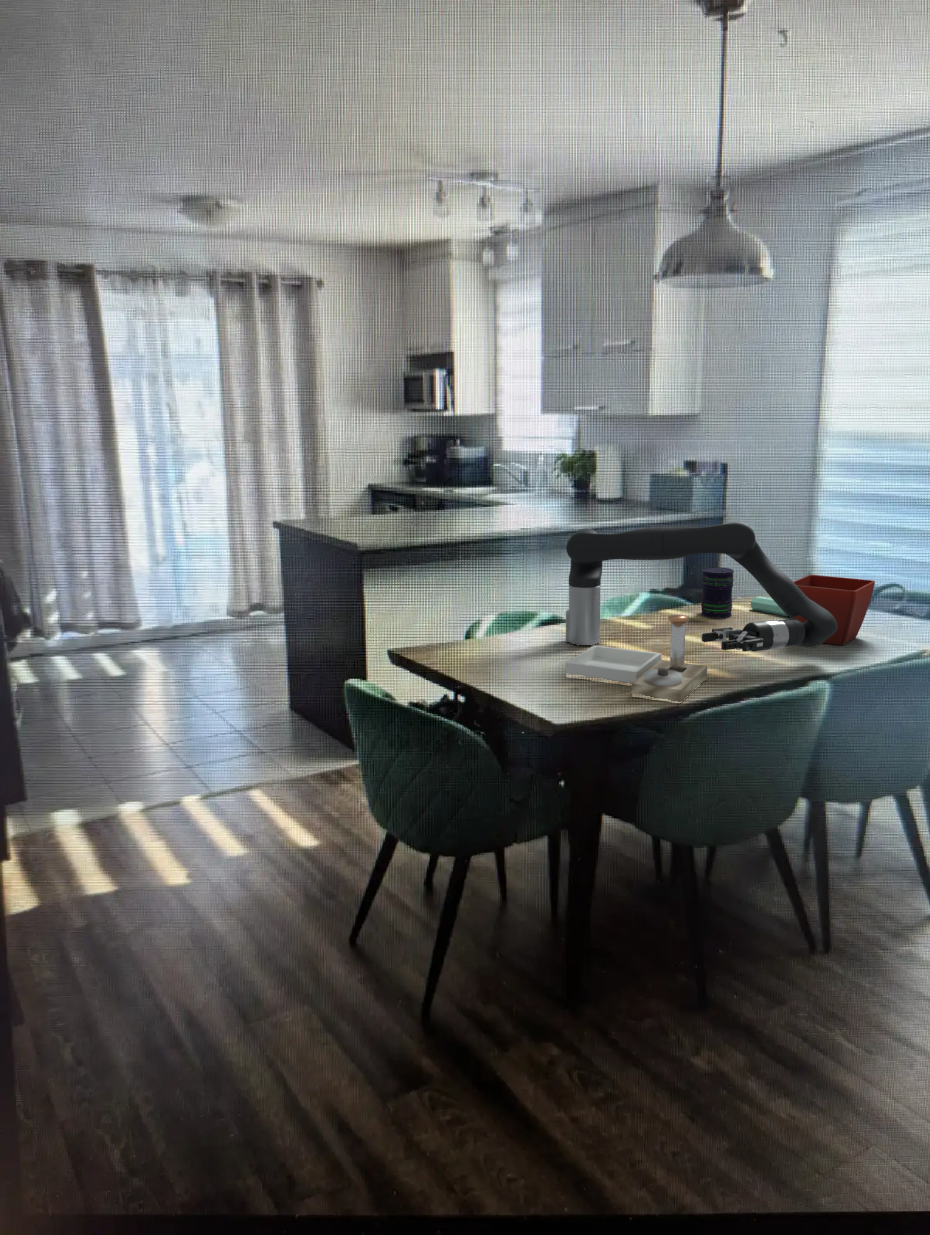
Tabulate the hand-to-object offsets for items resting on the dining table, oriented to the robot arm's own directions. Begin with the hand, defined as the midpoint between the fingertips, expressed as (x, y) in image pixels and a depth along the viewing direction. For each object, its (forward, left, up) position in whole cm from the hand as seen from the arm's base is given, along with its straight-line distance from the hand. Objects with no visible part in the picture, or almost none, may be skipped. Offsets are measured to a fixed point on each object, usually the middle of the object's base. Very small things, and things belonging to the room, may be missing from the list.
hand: (712, 641), depth 231 cm
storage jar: (-17, +69, -10) cm, 72 cm away
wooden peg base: (-6, -13, -9) cm, 17 cm away
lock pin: (-6, -8, -9) cm, 14 cm away
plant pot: (+20, +53, -10) cm, 58 cm away
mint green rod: (+3, +78, -10) cm, 79 cm away
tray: (-23, -7, -9) cm, 26 cm away
